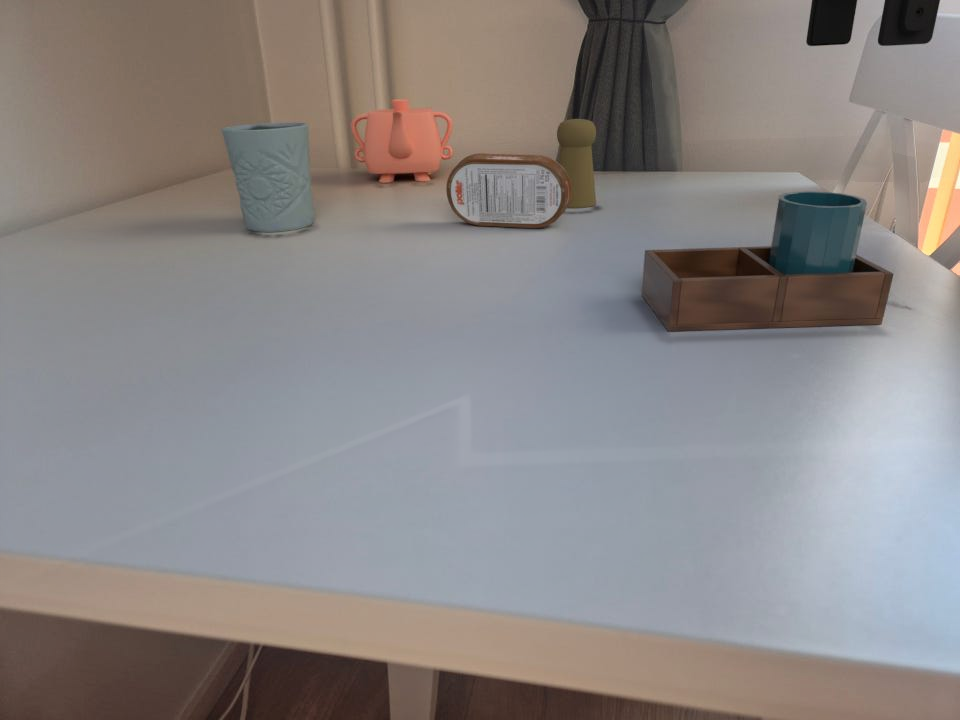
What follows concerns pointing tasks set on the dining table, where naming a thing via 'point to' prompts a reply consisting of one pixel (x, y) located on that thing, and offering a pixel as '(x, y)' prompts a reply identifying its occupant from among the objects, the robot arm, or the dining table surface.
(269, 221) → the drinking glass
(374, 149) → the teapot
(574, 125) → the pepper mill
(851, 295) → the divided wooden box
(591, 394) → the dining table surface
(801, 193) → the cup
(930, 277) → the dining table surface
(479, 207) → the tin
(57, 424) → the dining table surface
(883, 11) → the robot arm
